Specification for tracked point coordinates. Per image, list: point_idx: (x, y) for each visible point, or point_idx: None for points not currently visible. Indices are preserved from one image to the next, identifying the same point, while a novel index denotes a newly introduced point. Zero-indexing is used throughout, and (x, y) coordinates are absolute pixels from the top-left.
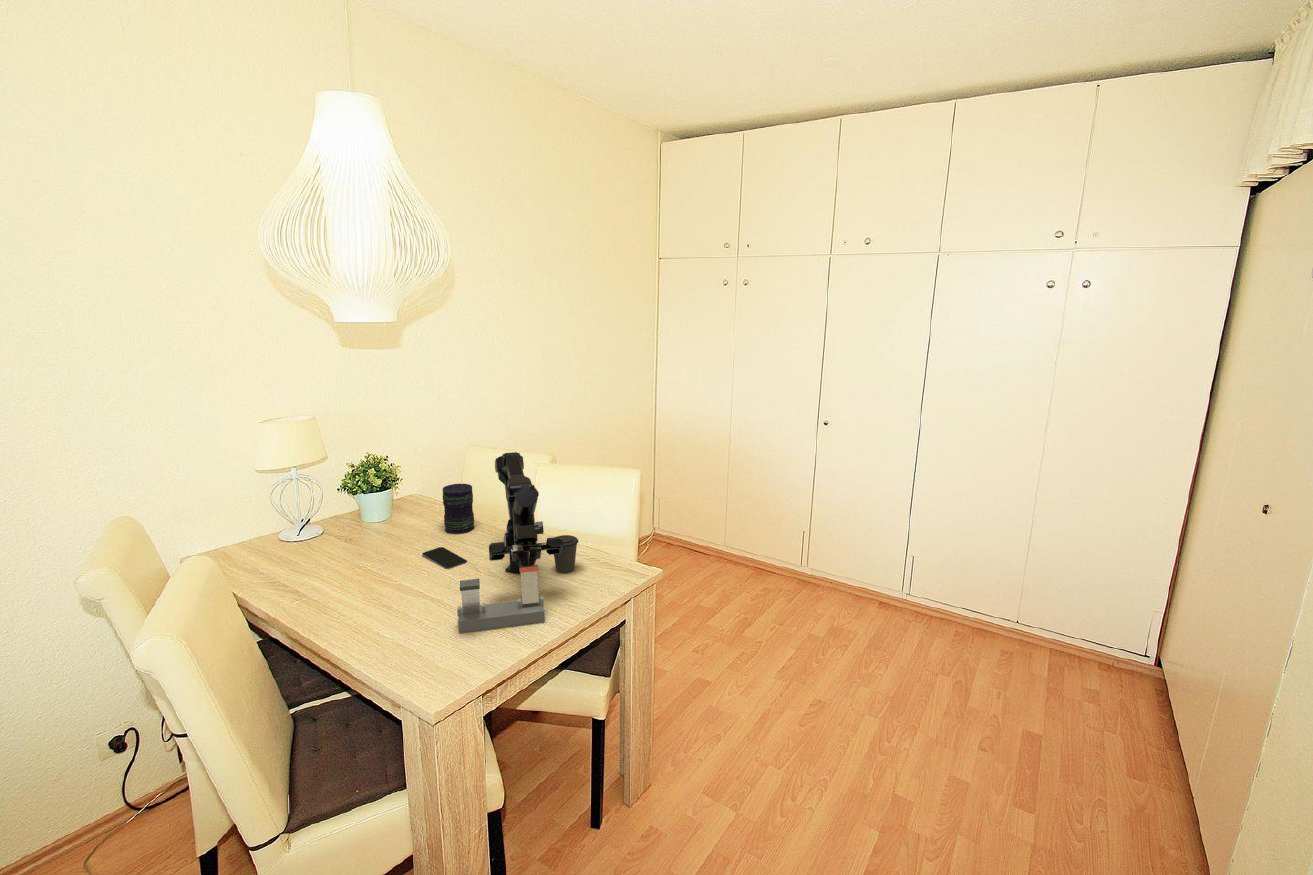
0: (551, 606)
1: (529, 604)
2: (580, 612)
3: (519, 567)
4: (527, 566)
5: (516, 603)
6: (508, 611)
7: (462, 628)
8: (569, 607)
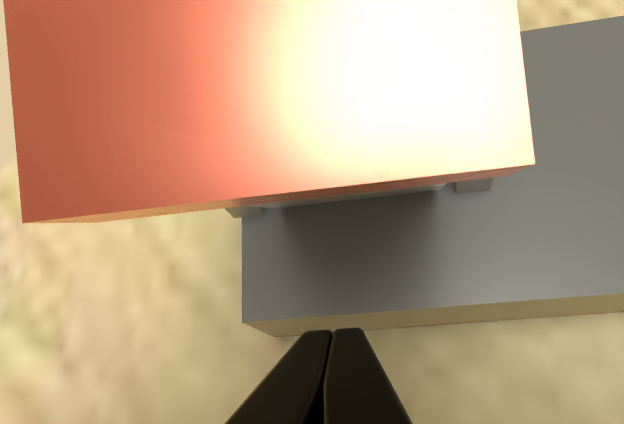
0: (191, 354)
1: (365, 198)
2: (12, 221)
3: (525, 111)
4: (278, 71)
5: (501, 239)
6: (567, 94)
7: None
8: (63, 309)
